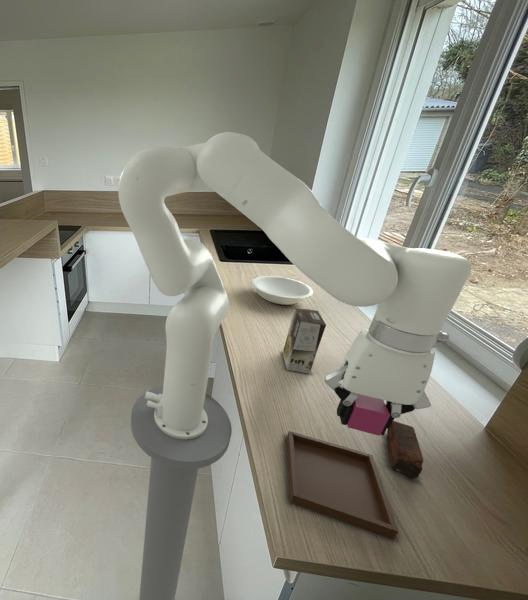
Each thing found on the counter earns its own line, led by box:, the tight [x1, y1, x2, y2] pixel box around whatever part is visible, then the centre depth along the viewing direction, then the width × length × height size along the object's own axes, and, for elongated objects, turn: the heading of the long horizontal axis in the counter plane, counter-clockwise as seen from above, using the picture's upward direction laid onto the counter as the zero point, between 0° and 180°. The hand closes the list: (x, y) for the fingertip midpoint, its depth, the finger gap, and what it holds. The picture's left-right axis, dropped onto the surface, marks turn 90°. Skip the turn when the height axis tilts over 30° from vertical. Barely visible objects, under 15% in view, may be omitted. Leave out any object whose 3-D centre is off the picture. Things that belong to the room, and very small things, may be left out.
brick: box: [386, 420, 424, 479], centre depth 66 cm, size 11×4×5 cm, turn 150°
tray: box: [286, 430, 399, 540], centre depth 61 cm, size 16×16×2 cm
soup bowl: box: [250, 274, 314, 306], centre depth 135 cm, size 24×24×7 cm
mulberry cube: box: [346, 395, 390, 437], centre depth 54 cm, size 5×5×5 cm
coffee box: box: [282, 307, 327, 374], centre depth 93 cm, size 9×6×16 cm
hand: (360, 423), depth 55 cm, fingers closed on mulberry cube, 4 cm apart
